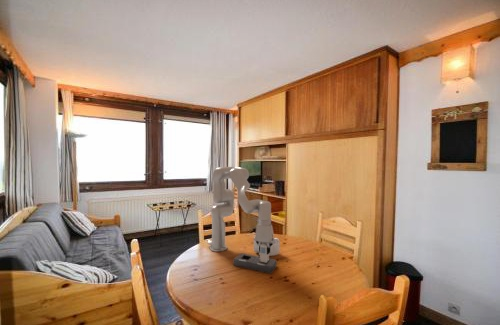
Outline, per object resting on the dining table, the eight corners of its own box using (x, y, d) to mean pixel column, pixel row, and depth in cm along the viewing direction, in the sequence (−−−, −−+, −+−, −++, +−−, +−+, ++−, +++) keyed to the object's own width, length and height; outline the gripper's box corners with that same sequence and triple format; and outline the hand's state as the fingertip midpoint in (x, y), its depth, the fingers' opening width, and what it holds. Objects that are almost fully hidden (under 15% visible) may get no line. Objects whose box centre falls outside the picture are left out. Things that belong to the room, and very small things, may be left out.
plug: (259, 262, 136) (259, 244, 136) (262, 258, 141) (262, 241, 140) (266, 263, 135) (266, 245, 134) (268, 260, 139) (268, 242, 139)
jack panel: (233, 265, 141) (233, 258, 141) (241, 259, 150) (241, 252, 150) (270, 273, 131) (270, 266, 131) (276, 266, 140) (276, 259, 140)
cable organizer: (272, 249, 167) (272, 233, 167) (280, 255, 157) (280, 238, 157) (253, 253, 160) (253, 236, 160) (260, 258, 151) (260, 241, 151)
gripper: (249, 222, 138) (249, 252, 138) (276, 225, 131) (276, 257, 131) (254, 219, 145) (254, 248, 145) (280, 222, 138) (279, 253, 138)
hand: (264, 252), depth 138 cm, fingers closed on plug, 4 cm apart
